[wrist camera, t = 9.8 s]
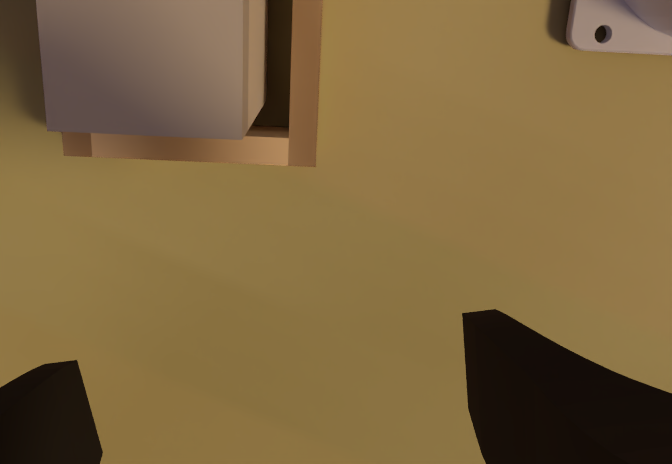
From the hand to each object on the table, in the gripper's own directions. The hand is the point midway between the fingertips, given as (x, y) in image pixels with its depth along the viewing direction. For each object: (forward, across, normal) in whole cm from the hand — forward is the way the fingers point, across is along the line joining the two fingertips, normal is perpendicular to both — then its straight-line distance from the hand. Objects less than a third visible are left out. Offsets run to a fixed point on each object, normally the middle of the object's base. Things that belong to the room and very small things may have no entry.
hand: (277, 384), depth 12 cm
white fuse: (+10, +2, -6) cm, 12 cm away
